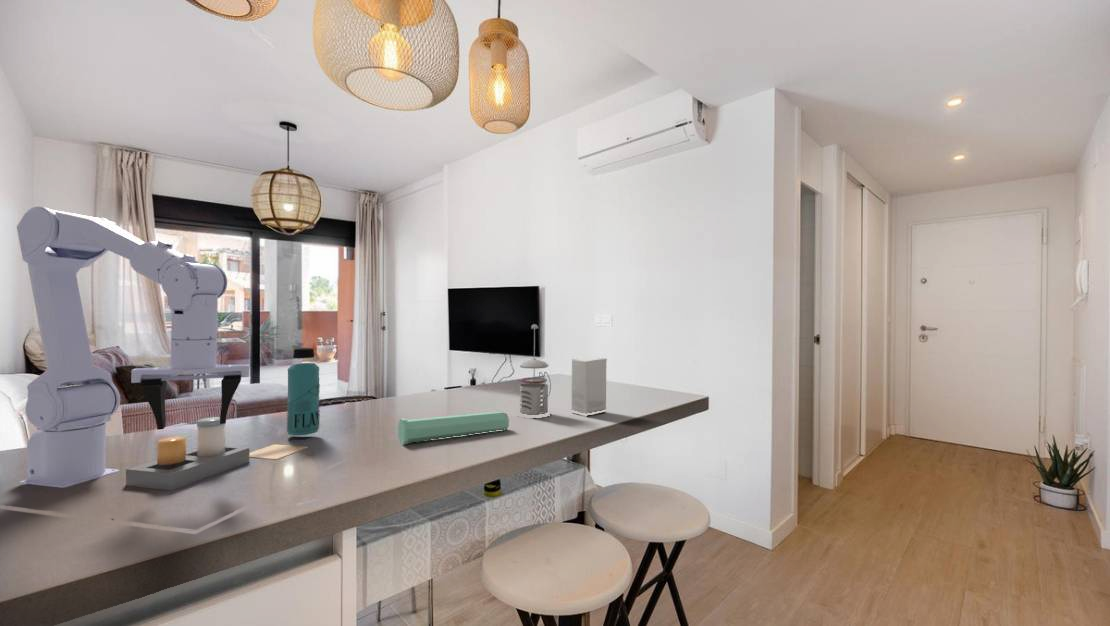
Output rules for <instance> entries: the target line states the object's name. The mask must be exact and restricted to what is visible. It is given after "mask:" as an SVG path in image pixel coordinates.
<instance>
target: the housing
mask: <svg viewBox="0 0 1110 626" xmlns="http://www.w3.org/2000/svg"><path fill="white" fill-rule="evenodd" d="M249 453H250V447H245V446H244V447H243V446H232V445H225V453H222V454H219V455H216V456H213V457H199V456H197V447H196V448H193V449H189V450H186V460H184V461H182V462H179V463H175V464H168V465H159V464H157V459H156V460H152V461H149V462H146V463H141V464H139V465H134V466H132V467H129V468H126V469H125V486H130V487H138V488H146V489H156V490H157V489H158V490H163V491H164V490H165V491H174V490H176V489H177V490H178V489H180V488H182V487H185V486H188V485H191V484H193V483H195V482H199V481H201V480H204V479H206V478H209V477H212V476H215V475H217V474H220V473H222V472H225V471H228V470H231V469H233V468H237V467H239V466H242V465H244V464H247V463H249V462H250V458H249Z"/></svg>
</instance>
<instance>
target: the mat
mask: <svg viewBox="0 0 1110 626" xmlns="http://www.w3.org/2000/svg"><path fill="white" fill-rule="evenodd" d="M305 449H308V446H299V445H291V444H289V445H285V444H276V443H274V444H271V445H269V446H265V447H262V448H260V449H257V450H254V451H251V452H250V451H249V459H259V460H260V459H261V460H272V461H277V460H280V459H284V458H285V457H288V456H290V455H293V454H295V453H298V452H300V451H304V450H305Z"/></svg>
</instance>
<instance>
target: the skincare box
mask: <svg viewBox="0 0 1110 626" xmlns="http://www.w3.org/2000/svg"><path fill="white" fill-rule="evenodd" d="M605 409H606V410H607V358H605V357H598V356H597V357H596V356H587V357H577V358H571V410H574V411H578V412H581V413H586V414H587V413H592V412H597V411H602V410H605Z"/></svg>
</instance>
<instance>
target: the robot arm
mask: <svg viewBox="0 0 1110 626" xmlns="http://www.w3.org/2000/svg"><path fill="white" fill-rule="evenodd" d="M16 229H17V230H16V231H17V235H18V241H19V246H20V252H21V257H22V261H23V262H25V263H26V264H27V269H28V273H29V274H28V275H29V280H30V285H31V290H32V295H33V296H32V297H33V301H34V306H35V312H36V316H37V322H38V327H39V334H40V338H41V344H42V350H43V355H44V359H45V360H44V361H45V366H46V370H45V371H44V372H43V373H41V374H40V375H39V376H37V377H36V378H35V379H33V380H32V381H30V382H29V383H28V384H27V385H26V390H27V400H26V404H25V415H26V418H27V420H28V421H29V422H30V424H32V426H34V427H35V428H36V431H34V433H32V435H31V436H30V437H29V439H28V442H27V448H26V449H27V450H26V451H27V452H26V479H23V480H21V481H19V485H22V486H24V485H35V486H43V487H44V486H45V487H51V488H62V489H63V488H67V487H72V486H74V485H77V484H81V483H85V482H88V481H92V480H94V479H98V478H101V477H105V476H108V475H111V474H114V473H118V472H120V469H118V468H117V469H116V468H115V469H114V468H106V450H107V449H106V448H107V447H106V446H107V445H106V436H107V434H106V433H107V431H106V430H107V425H106V424H107V423H106V422H110V421H111V420H112V416H113V415H114V414H115V413H117V411H118V409H119V407H120V404H121V394H120V392H119V389H118V388H117V386H116V385H115V384H114V382H113V377H112V373H111V372H109V371H107V370H106V369H104V368H102V367H100V366H98V365H96V364H94V363H93V362H94V361H93V357H92V353H91V347H90V341H89V337H88V336H89V335H88V330H87V326H86V321H85V315H84V308H83V303H82V299H81V293H80V290H79V289H80V287H79V284H78V278H77V273H78V272H79V271H80V270H81V269H85V268H88V267H90V266H91V265H93V264H94V263H95V262H96V261H97V260H98V259H100V258H102V257H103V256H104V255H105V254H106V253H107V252H110V253H111V252H112V253H113V254H116V255H117V256H120V257H122V258H125V259H127V260H129V264H130V266H131V268H132V269H133V271H135V272H136V273H138V274H139V275H141V276H144V277H145V278H148V279H149V280H152V281H153V282H155V283H156V284H158V285H161V288H162V290H163V292H164V294H165V295H166V299H167V306H168V307H169V308H168V309H169V310H171V320H170V321H171V324H170V326H171V327H170V328H171V329H170V330H171V331H170V332H171V334H170V335H171V336H170V338H171V339H170V366H159V367H142V368H141V367H139V368H137V367H136V368H133V369H131V380H130V381H131V384H135V383H139V384H140V386H139V389H140V392H141V393H142V395H143V396H144V398H145V399H146V401H147V402H148V404H149V406H150V408H151V411H152V413H153V415H154V419H155V423H156V430H164V429H165V428H166V425H167V424H166V423H167V416H166V413H167V412H166V394H167V383H168V381H183V380H204V379H208V380H209V379H221V382H220V383H221V384H220V385H221V404H220V405H221V406H220V414H219V417H220V424H225V425H226V423H227V416H228V411H229V407H230V405H231V402H232V399H233V397H234V394H236V390H237V389H238V388H239V386H240V384H241V381H242V378H249V377H250V364H249V363H248V364H247V363H246V364H245V363H244V364H218V363H217V358H218V357H217V356H218V355H217V353H218V350H217V349H218V342H217V341H218V304H219V303H218V299H220V298H221V297H223V295H224V294H225V293H226V291H227V288H228V278H227V277H228V276H227V275H226V272H225V271H224V270H223V269H222V268H221V267H219V266H218V265H217V264H215V263H199V262H198V260H196V257H195V256H194V255H192V254H185V253H182V252H180V251H178V250H176V249H174V248H173V246H174V245H173V243H170V242H169V241H164V240H157V241H146V242H145V241H143V240H142V239H140V238H139V237H136V236H135V235H133V234H132V233H129V231H126V230H125V229H123V228H121V227H119V226H118V223H117V222H114V221H111V220H108V219H107V218H105V217H100V216H96V217H95V216H91V215H89V216H88V215H83V214H80V213H79V214H78V213H73V212H66V211H63V210H62V211H61V210H55V209H50V208H48V207H44V206H33V207H31V208H30V209H28V210H26V212H25V213H24V215H23V216H22V218H21V219H20V221H19V222H18V224H17V225H16ZM179 375H180V376H179ZM75 384H77V385H75ZM67 385H70V386H67ZM61 386H64V387H61Z"/></svg>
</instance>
